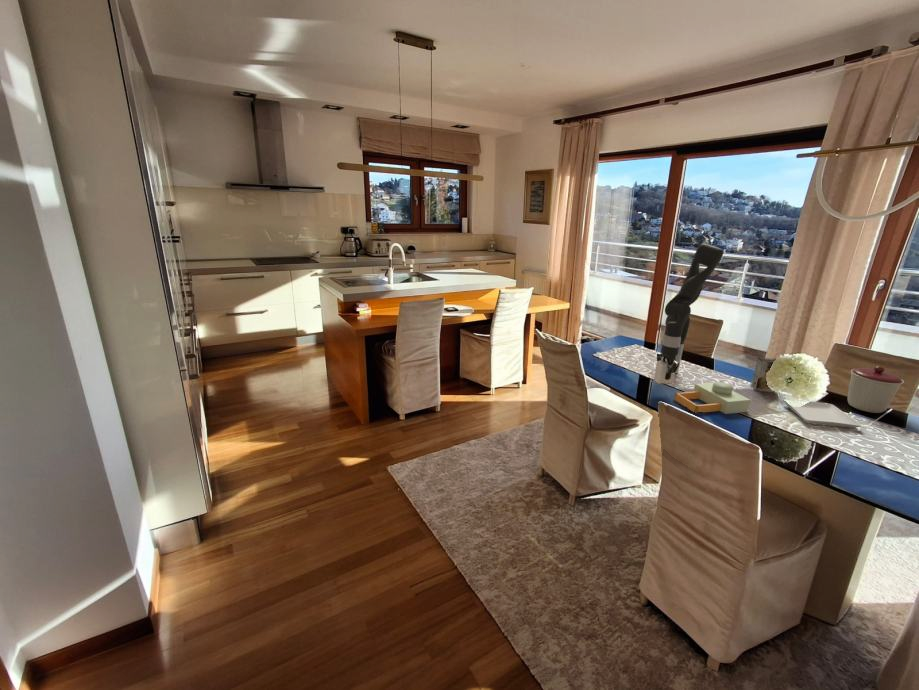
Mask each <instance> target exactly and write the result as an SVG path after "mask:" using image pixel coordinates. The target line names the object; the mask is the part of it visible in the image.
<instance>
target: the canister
mask: <svg viewBox="0 0 919 690" xmlns="http://www.w3.org/2000/svg"><path fill="white" fill-rule="evenodd" d="M850 373H851V375H850V381H849V386H848V392H847V403H848V405H849V406H850V407H852V408H854V409H856V410H859V411H862V412H867V413H871V414H881V413H884V412H885V411H886V410H887V409H888V408H889V406H890V404H891V403H892V401H893V400H894V398H895V397H896V394H897V393H898V391H899V389H900V387H901V386H902V385H903V384H904V383H905V381H904V379H902V378H901V377H900V376H898V375H897V374H894V373H891V372H889V371H886V370H885V368H884V367H883V366H881V365H876V366H874V367H873V368H869V367H857V368H852V369H851V370H850Z"/></svg>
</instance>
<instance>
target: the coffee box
mask: <svg viewBox="0 0 919 690" xmlns="http://www.w3.org/2000/svg"><path fill="white" fill-rule="evenodd" d="M776 359H777V358H775V357H774V358H773V357H762V356H761V357H760V356H758V357H757V360H756V364H755V368H754V372H753V375H752V376H753V377H752V380H751V384H750V386H751V387H752V389H753V390H754V391H759V392H767V393H768V392H769V393H774V392H773V391H772V390H771V389H770V388H769V387H768V385H767V381H766V373H767V372H768V371H769V370H770V368H771V366H772V364H773V362H774V361H775V360H776Z"/></svg>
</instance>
